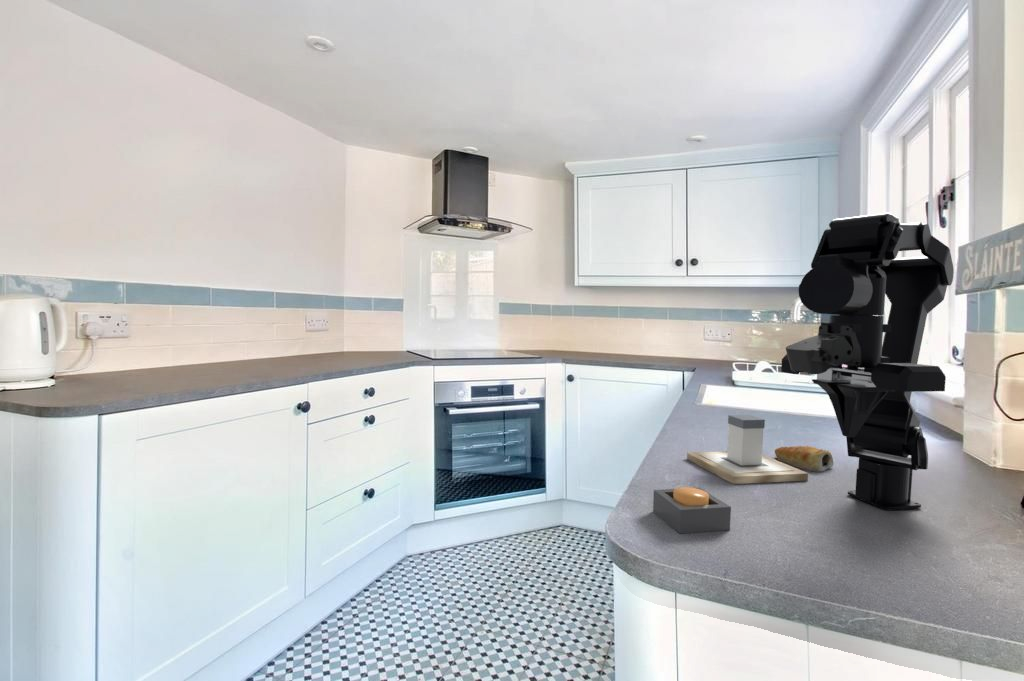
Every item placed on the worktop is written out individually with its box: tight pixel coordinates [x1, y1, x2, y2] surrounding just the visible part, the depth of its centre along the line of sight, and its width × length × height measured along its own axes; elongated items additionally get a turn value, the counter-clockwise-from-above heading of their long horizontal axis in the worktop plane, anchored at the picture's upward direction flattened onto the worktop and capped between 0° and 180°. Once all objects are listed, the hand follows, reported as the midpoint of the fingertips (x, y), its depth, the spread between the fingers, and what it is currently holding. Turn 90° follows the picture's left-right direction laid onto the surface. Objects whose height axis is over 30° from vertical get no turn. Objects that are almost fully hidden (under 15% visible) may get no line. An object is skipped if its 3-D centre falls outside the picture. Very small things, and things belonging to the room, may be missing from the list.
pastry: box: [774, 445, 835, 473], centre depth 92 cm, size 9×7×4 cm
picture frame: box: [686, 450, 809, 485], centre depth 88 cm, size 14×14×1 cm
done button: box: [673, 486, 710, 506], centre depth 65 cm, size 4×4×2 cm
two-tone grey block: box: [727, 414, 766, 465], centre depth 88 cm, size 4×4×8 cm
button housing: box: [652, 487, 732, 534], centre depth 65 cm, size 7×7×3 cm
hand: (848, 436), depth 64 cm, fingers closed
